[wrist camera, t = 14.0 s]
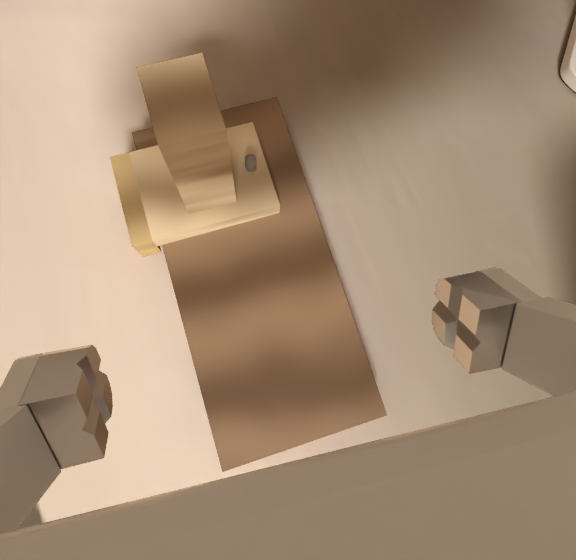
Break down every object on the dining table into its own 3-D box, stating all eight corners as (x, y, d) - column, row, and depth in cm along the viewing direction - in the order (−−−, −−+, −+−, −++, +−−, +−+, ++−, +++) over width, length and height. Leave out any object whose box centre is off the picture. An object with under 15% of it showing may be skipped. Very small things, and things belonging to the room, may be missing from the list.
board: (142, 151, 31) (132, 132, 29) (275, 118, 32) (276, 97, 30) (226, 463, 27) (222, 472, 24) (376, 411, 28) (386, 415, 26)
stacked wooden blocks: (122, 174, 29) (47, 66, 19) (253, 141, 30) (249, 22, 20) (142, 256, 28) (75, 188, 18) (278, 219, 29) (287, 135, 19)
